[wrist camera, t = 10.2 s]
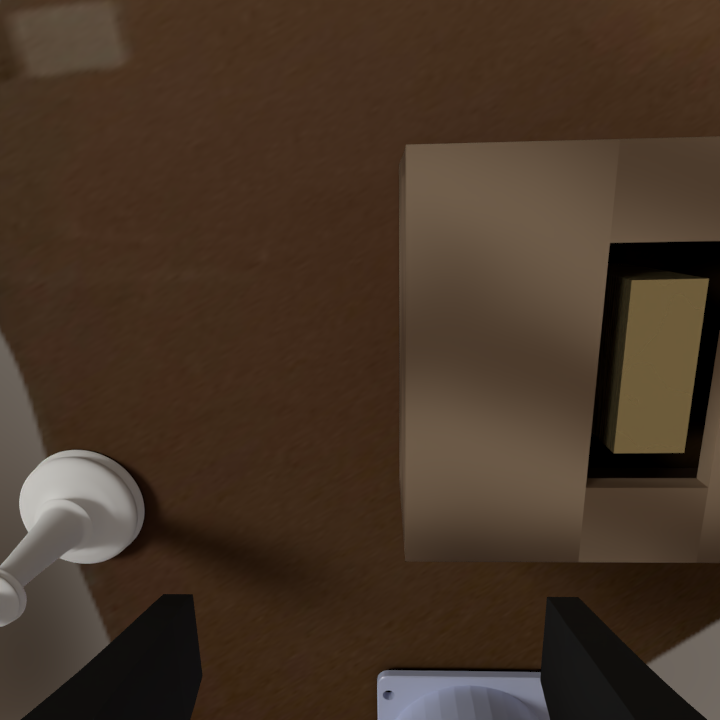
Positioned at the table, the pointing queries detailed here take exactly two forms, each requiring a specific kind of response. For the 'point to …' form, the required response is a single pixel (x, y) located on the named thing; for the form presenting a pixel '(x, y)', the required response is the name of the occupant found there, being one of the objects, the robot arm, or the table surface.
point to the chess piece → (70, 520)
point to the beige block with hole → (537, 350)
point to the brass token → (647, 358)
